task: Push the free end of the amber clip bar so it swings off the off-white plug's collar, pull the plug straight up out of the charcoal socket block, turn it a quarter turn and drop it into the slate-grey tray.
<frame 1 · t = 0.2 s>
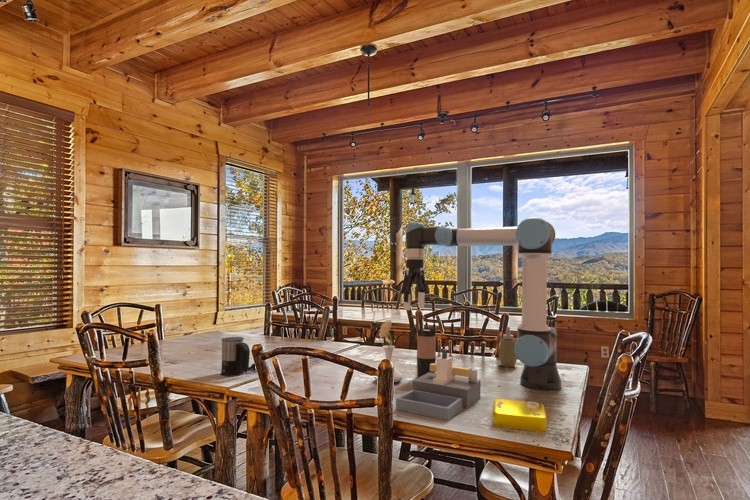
hand: (414, 308, 187), 28 cm above the table, tool pointing down, fingers open, 13 cm apart
clip: (453, 372, 157), point 8 cm above the table, hinge at 0.0°
squeeze bottle: (508, 366, 204), on the table
milk frother: (241, 373, 186), on the table
plug: (444, 389, 155), point 3 cm above the table, touching socket block
tray: (429, 409, 142), on the table
socket block: (446, 397, 155), on the table
travel mug: (426, 378, 181), on the table
flower in vase: (388, 382, 174), on the table
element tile: (518, 422, 134), on the table
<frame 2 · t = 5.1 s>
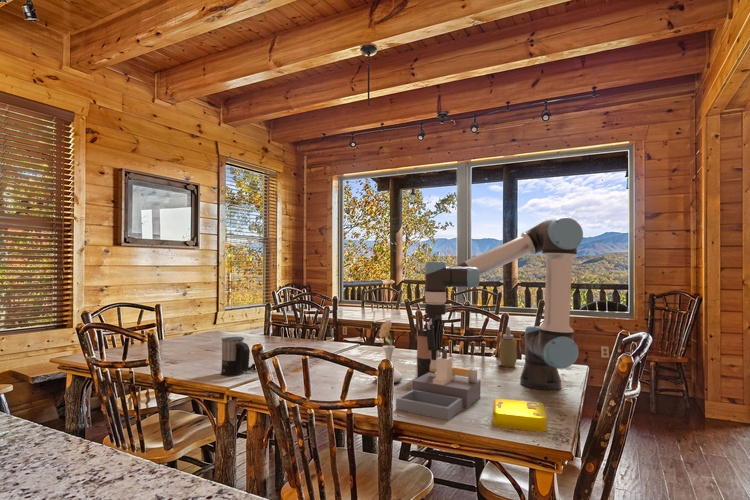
hand: (434, 368, 159), 9 cm above the table, tool pointing down, fingers closed
clip: (453, 372, 157), point 8 cm above the table, hinge at 0.0°, touching gripper
everything else where it was.
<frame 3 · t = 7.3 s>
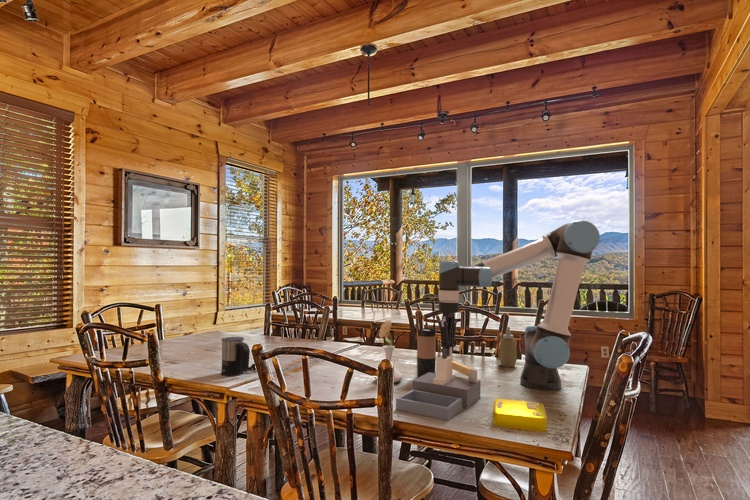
hand: (447, 364, 165), 9 cm above the table, tool pointing down, fingers closed
clip: (461, 370, 160), point 8 cm above the table, hinge at -38.5°, touching gripper
everything else where it was.
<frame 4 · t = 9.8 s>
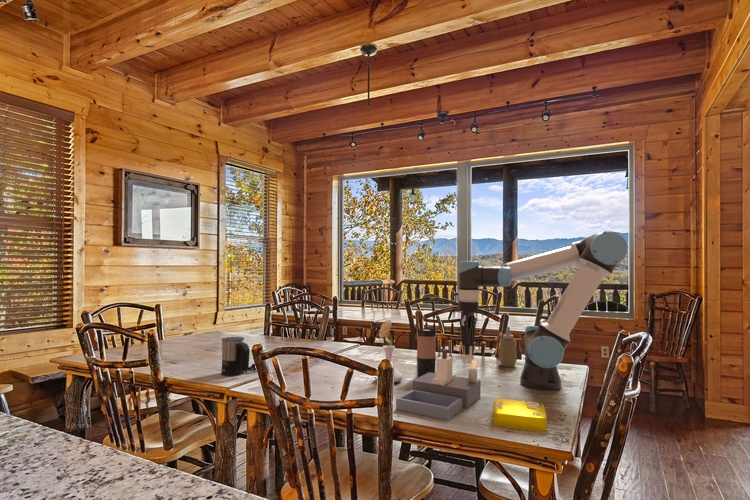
hand: (467, 362, 168), 10 cm above the table, tool pointing down, fingers closed
clip: (473, 370, 161), point 8 cm above the table, hinge at -73.7°, touching gripper
everything else where it was.
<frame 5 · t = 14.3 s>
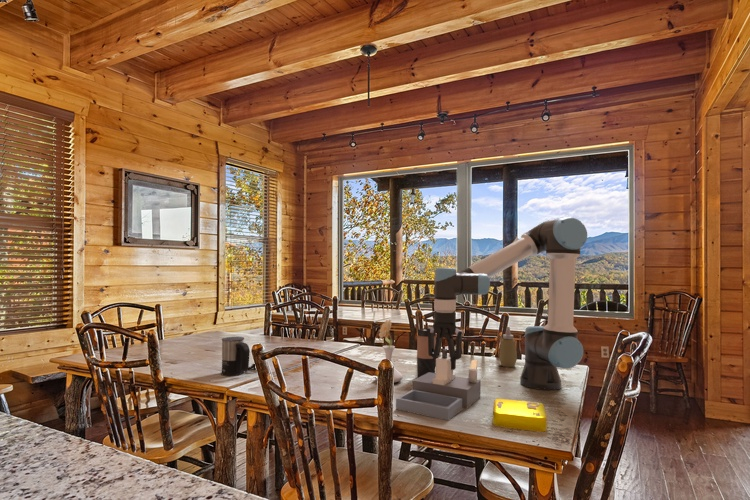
hand: (444, 377, 155), 7 cm above the table, tool pointing down, fingers closed on plug, 4 cm apart
clip: (473, 370, 161), point 8 cm above the table, hinge at -73.7°
plug: (444, 389, 155), point 3 cm above the table, touching gripper, socket block
everything else where it was.
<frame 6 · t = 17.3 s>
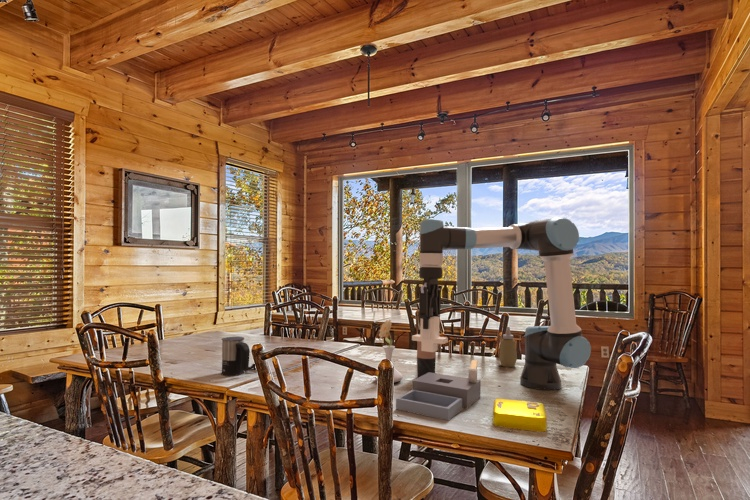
hand: (429, 337, 143), 23 cm above the table, tool pointing down, fingers closed on plug, 4 cm apart
plug: (429, 350, 143), point 19 cm above the table, touching gripper
everything else where it was.
when the fingers open (7 cm above the table, at t = 20.6 s): plug drops 2 cm, resting on tray.
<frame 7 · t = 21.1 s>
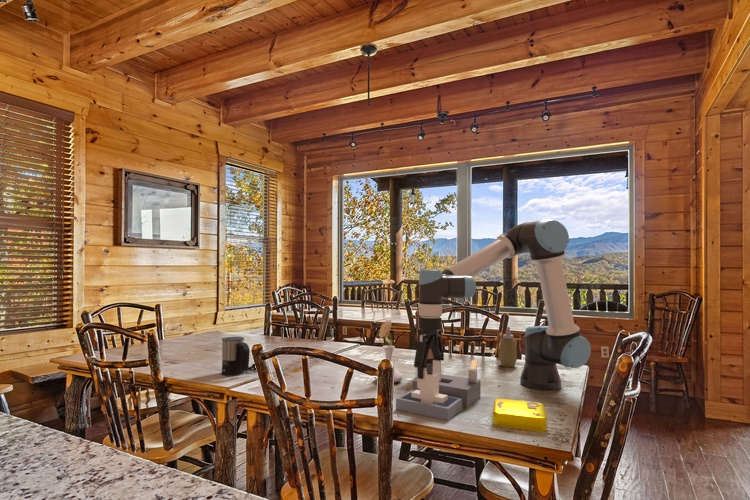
hand: (429, 384, 143), 8 cm above the table, tool pointing down, fingers open, 11 cm apart
plug: (429, 407, 142), resting on tray
everything else where it was.
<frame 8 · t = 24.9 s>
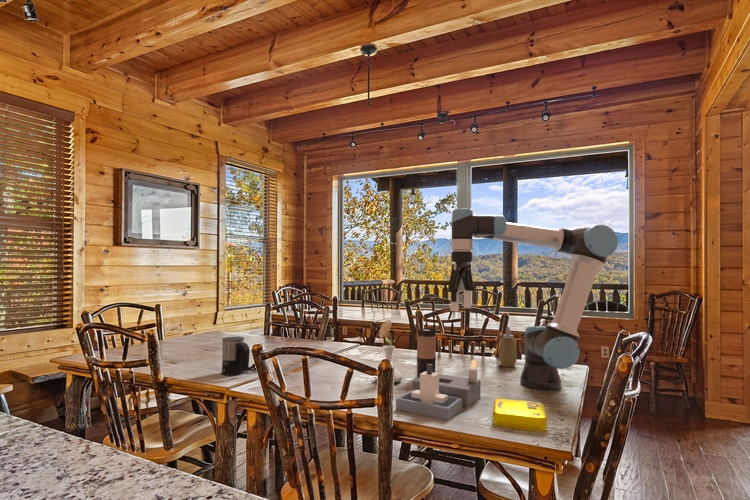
hand: (461, 309, 160), 31 cm above the table, tool pointing down, fingers open, 13 cm apart
nothing on the table moved.
at the end: clip at -74° (first picture: +0°); plug inside the target area on the tray (0.0 cm from its centre), point 0.5 cm above the tray's base; the gripper is holding nothing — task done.
